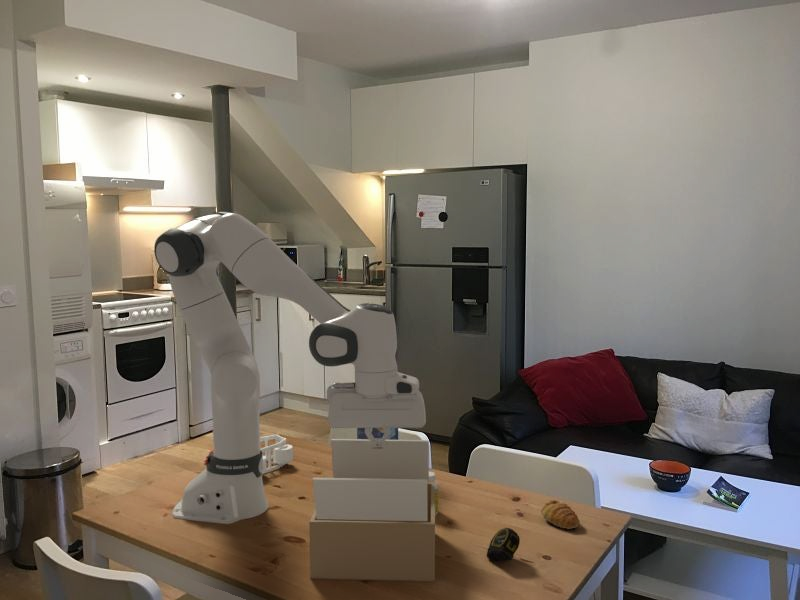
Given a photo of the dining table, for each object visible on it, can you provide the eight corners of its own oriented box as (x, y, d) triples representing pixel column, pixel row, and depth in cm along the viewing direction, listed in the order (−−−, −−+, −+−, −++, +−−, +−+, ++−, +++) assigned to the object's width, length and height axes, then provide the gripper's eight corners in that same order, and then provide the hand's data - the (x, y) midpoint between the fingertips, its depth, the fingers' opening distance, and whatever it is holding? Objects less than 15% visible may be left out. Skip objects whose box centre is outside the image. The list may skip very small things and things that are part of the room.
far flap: (428, 481, 151) (428, 479, 151) (428, 441, 147) (428, 440, 148) (333, 479, 152) (333, 478, 152) (331, 440, 148) (331, 438, 149)
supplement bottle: (436, 518, 161) (436, 478, 160) (413, 516, 162) (413, 476, 161) (439, 509, 167) (439, 470, 166) (417, 507, 168) (417, 469, 167)
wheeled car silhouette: (252, 484, 184) (251, 458, 183) (223, 476, 190) (222, 451, 189) (300, 463, 201) (300, 439, 200) (272, 457, 207) (272, 433, 206)
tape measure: (495, 566, 140) (481, 554, 140) (510, 537, 144) (497, 526, 144) (513, 565, 135) (499, 553, 134) (528, 536, 138) (515, 524, 138)
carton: (310, 581, 132) (309, 521, 131) (328, 532, 154) (327, 480, 153) (434, 584, 131) (434, 524, 129) (435, 534, 152) (435, 482, 151)
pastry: (586, 528, 155) (588, 512, 155) (563, 533, 152) (564, 516, 152) (559, 512, 164) (560, 497, 163) (537, 516, 160) (538, 501, 160)
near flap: (317, 517, 131) (316, 519, 131) (313, 477, 127) (312, 479, 126) (427, 519, 130) (427, 521, 130) (427, 479, 126) (427, 481, 125)
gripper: (323, 386, 138) (325, 452, 139) (424, 385, 137) (426, 452, 138) (328, 379, 144) (330, 443, 146) (425, 378, 143) (426, 443, 144)
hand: (377, 447), depth 142 cm, fingers closed
